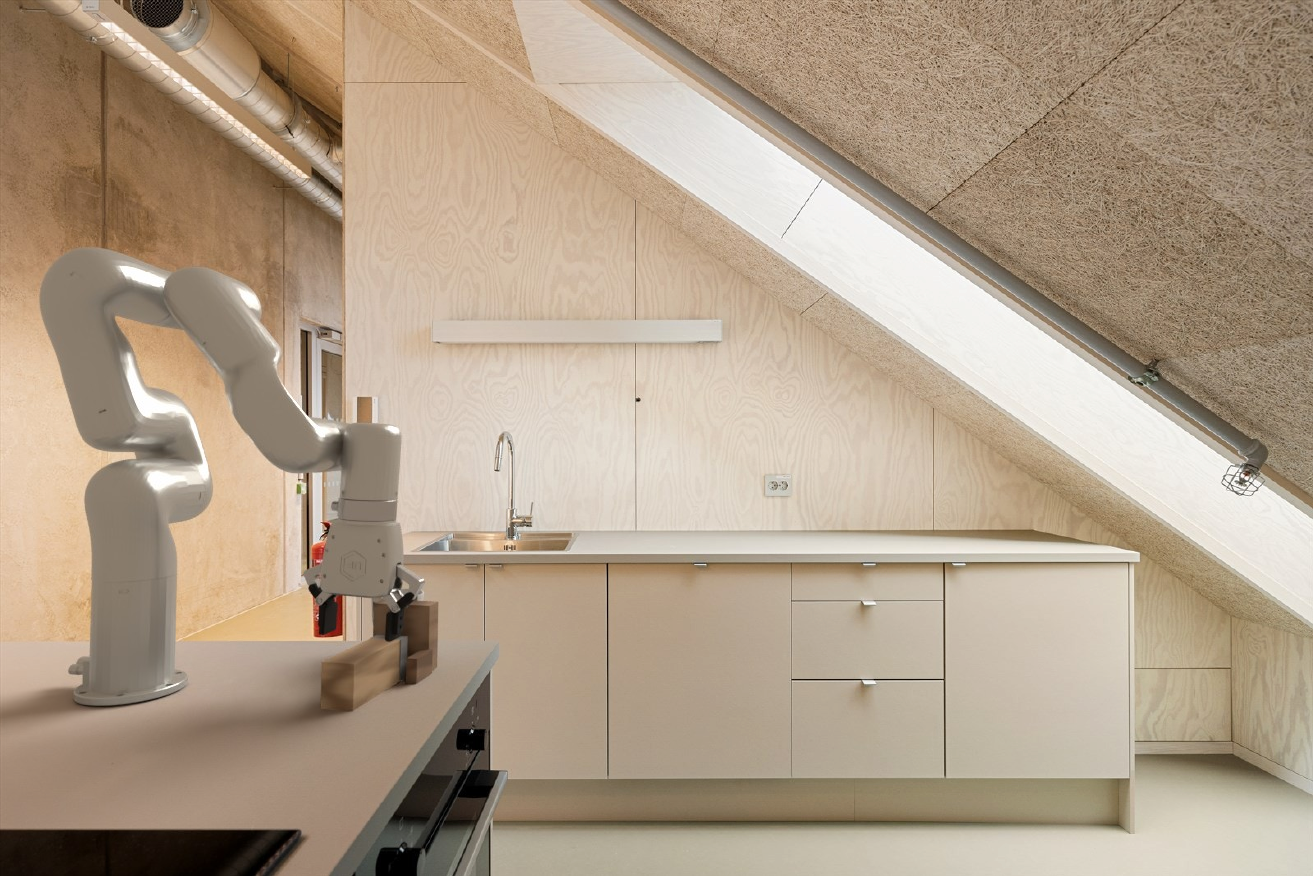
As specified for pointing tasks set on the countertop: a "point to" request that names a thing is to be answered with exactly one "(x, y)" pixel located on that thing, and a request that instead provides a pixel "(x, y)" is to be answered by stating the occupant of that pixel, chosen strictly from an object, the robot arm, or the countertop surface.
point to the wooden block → (362, 672)
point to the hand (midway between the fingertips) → (359, 636)
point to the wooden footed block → (414, 635)
